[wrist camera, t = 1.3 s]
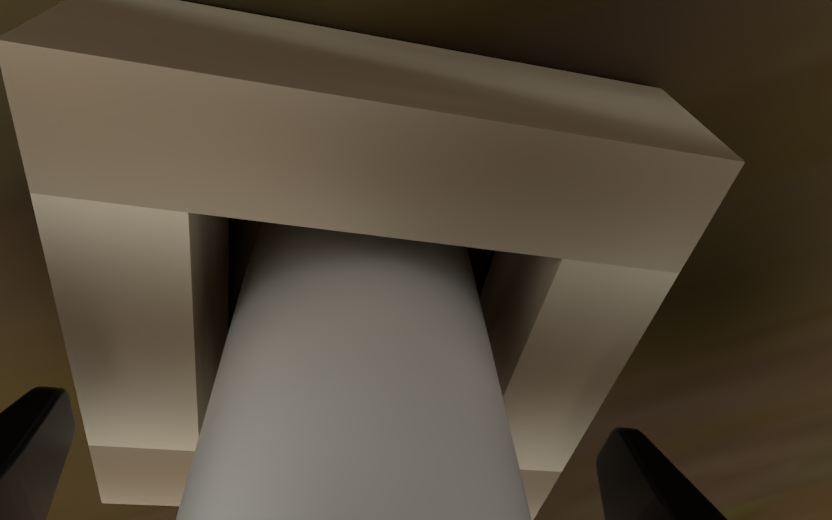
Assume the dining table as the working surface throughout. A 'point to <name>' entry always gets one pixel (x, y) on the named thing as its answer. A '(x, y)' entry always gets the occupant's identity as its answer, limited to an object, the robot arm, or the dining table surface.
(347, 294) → the plug
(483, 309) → the beige square frame
